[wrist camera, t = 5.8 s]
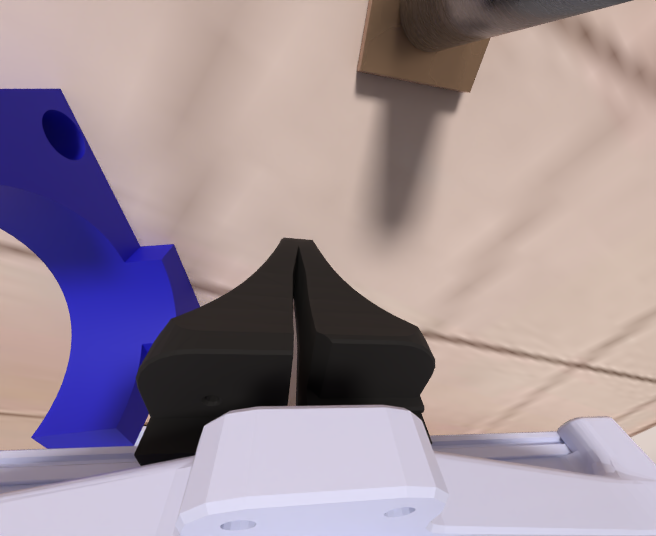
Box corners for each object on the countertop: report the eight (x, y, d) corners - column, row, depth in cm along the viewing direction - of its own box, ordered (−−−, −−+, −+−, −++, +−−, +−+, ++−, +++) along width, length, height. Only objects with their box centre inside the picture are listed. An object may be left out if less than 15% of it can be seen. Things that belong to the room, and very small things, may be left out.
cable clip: (211, 330, 16) (172, 441, 11) (133, 337, 15) (56, 454, 10) (110, 87, 9) (-123, 85, 4) (-33, 92, 9) (-476, 98, 4)
